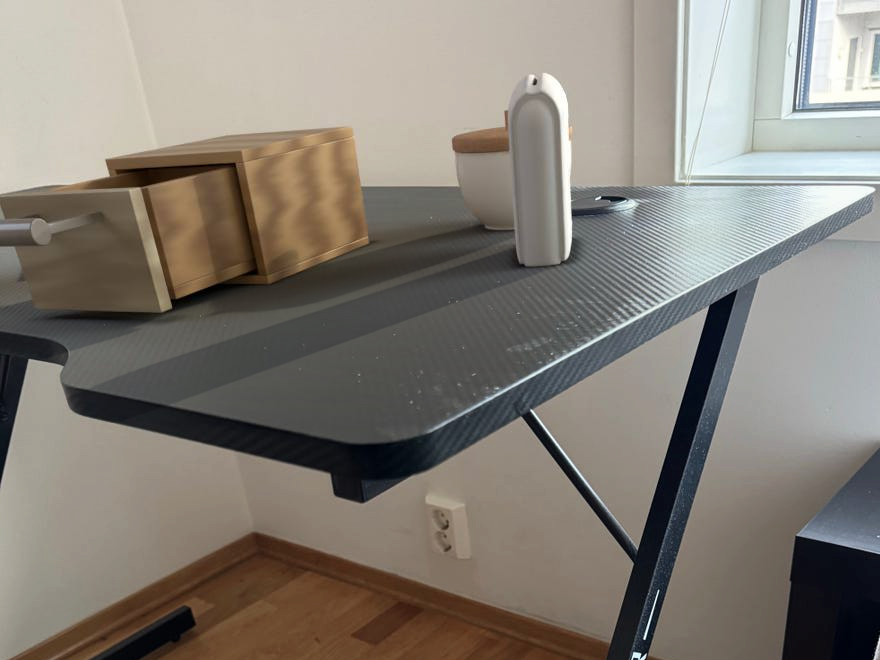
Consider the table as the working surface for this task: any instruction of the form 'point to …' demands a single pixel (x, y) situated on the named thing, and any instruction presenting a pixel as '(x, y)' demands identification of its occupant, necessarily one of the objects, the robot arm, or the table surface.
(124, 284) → the drawer
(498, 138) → the white lidded jar
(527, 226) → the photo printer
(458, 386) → the table surface
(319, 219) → the cabinet
